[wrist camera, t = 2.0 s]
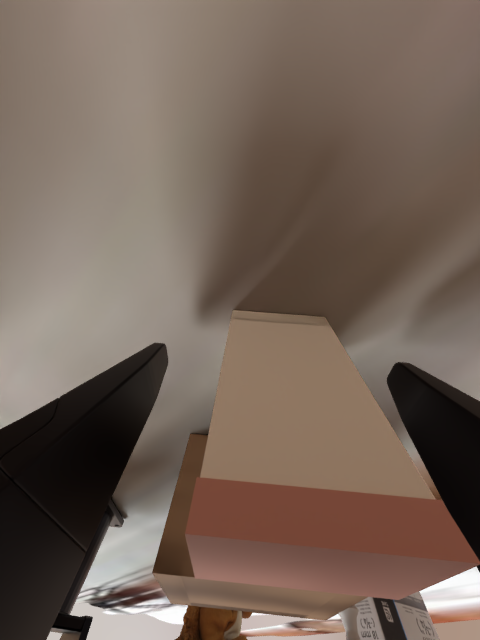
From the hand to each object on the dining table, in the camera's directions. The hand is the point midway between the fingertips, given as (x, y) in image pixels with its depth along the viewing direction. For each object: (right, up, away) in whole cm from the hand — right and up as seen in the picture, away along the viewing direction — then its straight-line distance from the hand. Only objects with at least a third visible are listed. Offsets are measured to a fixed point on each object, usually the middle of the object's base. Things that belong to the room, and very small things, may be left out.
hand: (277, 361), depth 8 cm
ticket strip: (0, -5, +4) cm, 6 cm away
